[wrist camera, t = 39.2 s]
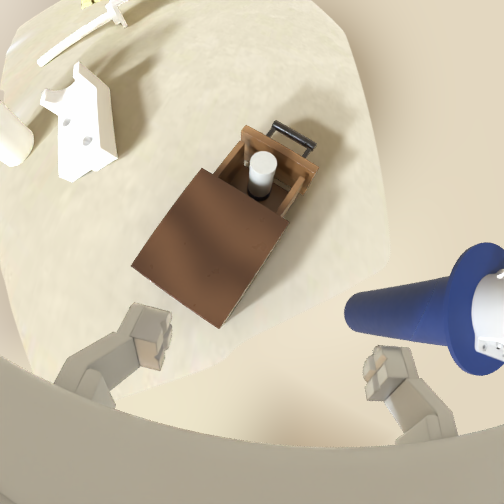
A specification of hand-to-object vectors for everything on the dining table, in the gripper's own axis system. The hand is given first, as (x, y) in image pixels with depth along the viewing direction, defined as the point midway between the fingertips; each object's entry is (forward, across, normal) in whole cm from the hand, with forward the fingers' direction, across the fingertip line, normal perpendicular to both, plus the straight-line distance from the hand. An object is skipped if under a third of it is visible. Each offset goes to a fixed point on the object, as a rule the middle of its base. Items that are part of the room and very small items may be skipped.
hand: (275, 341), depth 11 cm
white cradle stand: (+40, +36, +4) cm, 54 cm away
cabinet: (+27, +6, +17) cm, 33 cm away
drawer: (+35, +2, +9) cm, 36 cm away
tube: (+34, +2, +8) cm, 34 cm away
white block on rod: (+63, +52, -18) cm, 83 cm away
